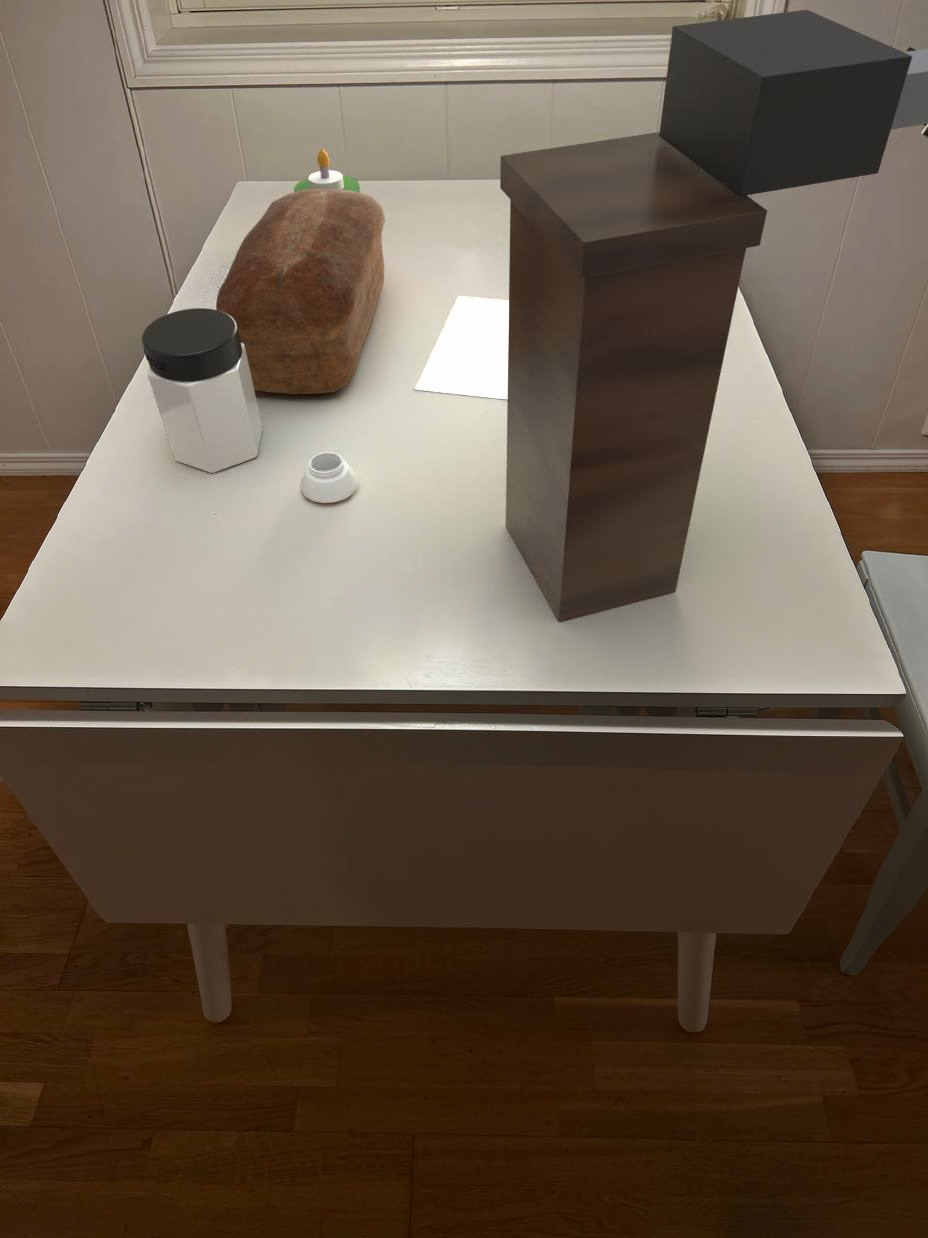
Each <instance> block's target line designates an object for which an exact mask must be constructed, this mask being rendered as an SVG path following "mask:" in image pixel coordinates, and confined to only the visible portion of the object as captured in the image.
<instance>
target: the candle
mask: <svg viewBox="0 0 928 1238" xmlns="http://www.w3.org/2000/svg"><path fill="white" fill-rule="evenodd" d="M316 158H317V159H316V160H317V164H318V167H319V171H315V172H312V173H311V174H309V176H308V178H305V179H303V180H301V181H299V182H298V183H296V185H294V187H293V192H297V191H301V190H305V189H338V190H348V191H354V192H360V193H361V188H360V187H361V186H360V182H359V181H358V180H356V179H355V178H354V177H350V176H347V175H343V174H342V172H340V171H337V170H331V169H330V167H329V166H330V158H329V155H328V153H327V151H326V150H325V149H320V150H318V153H317V157H316Z"/></svg>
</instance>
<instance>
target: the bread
mask: <svg viewBox="0 0 928 1238" xmlns="http://www.w3.org/2000/svg"><path fill="white" fill-rule="evenodd" d="M385 217H386V216H385V212H384V209H383V205H381V204H380V203H379V202H378V201H377V200H376V199H375V197H372V196H371V195H368V194H365V193H363V192H361V191H360V192H354V191H348V190H338V189H305V190H301V191H297V192H294V191H293V192H289V193H287V194H285V195H284V196H281V197H280V198H277V199H276V200H273V201H272V202H271V203H270V205H269V206H268V207H267V209H266V211H264V214H263V215H262V217H261V218H260V219H259V220H258V222H256V224H255V225H254V226H253V227H252V228H251V229H250V231H248V233H247V234H246V235H245V236H244V238H243V240H242V242H241V244H240V246H239V248H238V250H237V252H236V254H235V257H234V259H233V262H232V264H231V266H230V268H229V271H228V273H227V275H226V277H225V279H224V280H223V282H222V284H221V286H220V287H219V289H218V290H219V291H218V293H217V297H216V303H215V310H218V311H222V312H224V313H226V314H228V315H230V316H231V317H232V318H233V319H234V320H235V322H236V324H237V327H238V332H239V337H240V341H241V343H243V344H244V345H245V349H246V354H247V359H248V363H249V368H250V372H251V377H252V381H253V386H254V391H259V392H266V393H271V394H272V393H273V394H283V395H284V394H286V395H317V394H318V395H320V394H329V393H335V392H337V391H338V390H339V389H341V388H342V387H344V386H346V385H347V384H348V383H349V382H350V380H351V378H353V375H354V374H355V372H356V371H357V368H358V365H359V360H360V356H361V353H362V349H363V347H364V344H365V341H366V339H367V336H368V334H369V331H370V329H371V325H372V324H373V323H372V322H373V319H374V316H375V313H376V310H377V306H378V303H379V298H380V296H381V293H382V290H383V287H384V284H385V260H384V251H383V250H384V249H383V234H382V233H383V230H384V225H385V222H386V218H385Z"/></svg>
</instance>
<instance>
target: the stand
mask: <svg viewBox="0 0 928 1238" xmlns="http://www.w3.org/2000/svg"><path fill="white" fill-rule="evenodd" d="M659 132H660V131H657V132H651V133H650V132H649V133H643V134H637V135H631V136H625V137H624V136H623V137H617V138H610V139H605V140H604V139H603V140H597V141H591V142H590V141H589V142H584V143H577V144H571V145H563V146H557V147H551V148H543V149H536V150H529V151H524V152H516V153H509V154H503V155H500V177H499V184H500V185H499V187H500V190H501V191H502V192H503V194H504V195H506V196H507V197H508V199H509V200H510V201H509V205H510V206H509V207H510V208H509V212H510V213H509V263H508V264H509V267H508V269H509V272H508V273H509V274H508V278H509V279H508V301H509V332H508V400H506V401H507V403H506V405H507V407H506V408H507V411H506V412H507V413H506V414H507V415H506V471H505V472H506V473H505V474H506V479H505V480H506V481H505V527H506V529H507V531H508V533H509V535H510V537H511V538H512V540H513V542H514V544H515V545H516V547H517V549H518V551H519V553H520V555H521V556H522V558H523V560H524V562H525V564H526V565H527V567H528V569H529V571H530V572H531V575H532V576H533V579H534V580H535V581H536V584H537V585H538V587H539V589H540V591H541V592H542V594H543V596H544V598H545V600H546V602H547V603H548V605H549V607H550V609H551V611H552V612H553V615H554V616H555V618H556V619H557V621H558V623H560V622H565V621H568V620H573V619H576V618H581V617H583V616H589V615H591V614H596V613H599V612H604V611H607V610H611V609H614V608H618V607H622V606H625V605H626V606H627V605H631V604H633V603H638V602H641V601H645V600H649V599H653V598H656V597H660V596H664V595H668V594H672V593H675V592H677V588H678V587H677V586H678V583H679V577H680V573H681V568H682V562H683V558H684V553H685V547H686V545H687V539H688V533H689V529H690V523H691V518H692V515H693V510H694V506H695V505H694V504H695V501H696V495H697V489H698V485H699V480H700V476H701V470H702V465H703V461H704V456H705V451H706V446H707V442H708V437H709V432H710V427H711V421H712V417H713V412H714V406H715V403H716V398H717V392H718V387H719V384H720V378H721V373H722V368H723V364H724V358H725V354H726V349H727V344H728V339H729V334H730V330H731V324H732V319H733V316H734V309H735V305H736V299H737V295H738V291H739V286H740V281H741V276H742V271H743V266H744V261H745V257H746V252H747V249H749V248H755V247H759V246H761V242H762V237H763V234H764V227H765V223H766V219H767V215H768V210H767V209H766V208H765V207H763V206H762V205H761V204H759V203H758V202H757V201H755V200H754V199H753V198H751V197H750V196H749V195H746V196H738V195H737V194H736V193H734V192H733V191H732V190H730V189H729V188H728V187H726V186H725V185H724V184H722V183H721V182H720V181H718V180H717V179H716V178H714V177H713V176H712V175H710V174H709V173H708V172H706V171H705V170H704V169H702V168H701V167H700V166H698V165H697V164H696V163H694V162H693V161H692V160H690V159H689V158H688V157H686V156H685V155H683V154H682V153H681V152H679V151H678V150H677V149H675V148H674V147H673V146H671V145H670V144H669V143H667V142H666V141H665V140H663V139H662V138H661V137H659Z"/></svg>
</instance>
